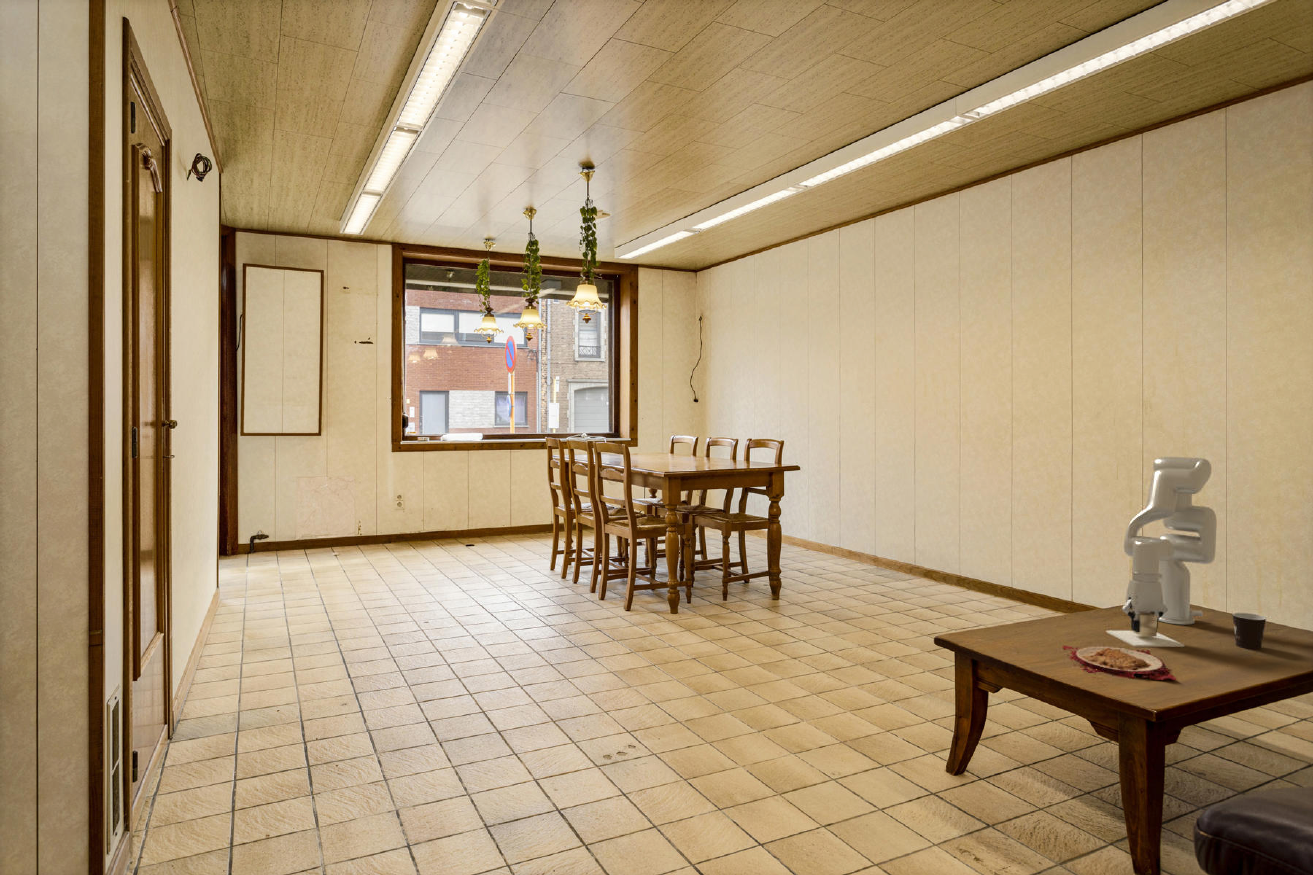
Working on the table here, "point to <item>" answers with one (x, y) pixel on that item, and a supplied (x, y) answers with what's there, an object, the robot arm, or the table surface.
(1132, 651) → the plate with food
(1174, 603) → the robot arm
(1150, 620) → the birch block
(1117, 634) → the white mat
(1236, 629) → the coffee mug
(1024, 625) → the table surface
